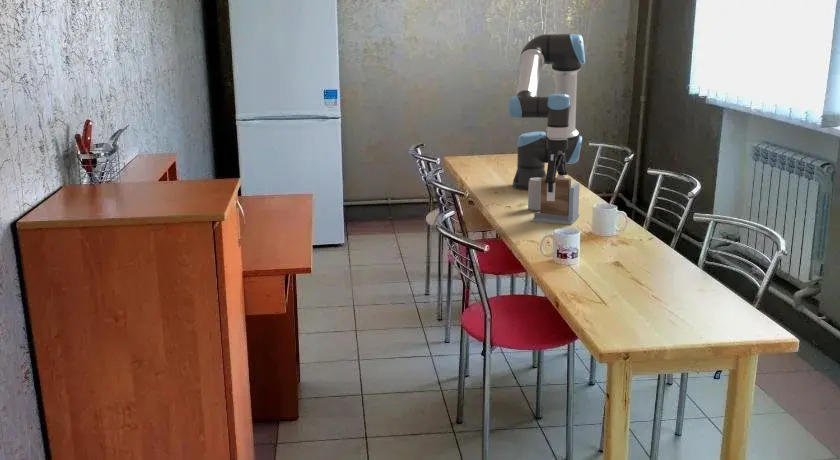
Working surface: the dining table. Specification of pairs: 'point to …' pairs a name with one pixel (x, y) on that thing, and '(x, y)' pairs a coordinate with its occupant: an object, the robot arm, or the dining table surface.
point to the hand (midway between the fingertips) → (555, 196)
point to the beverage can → (534, 194)
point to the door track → (563, 218)
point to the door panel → (556, 197)
